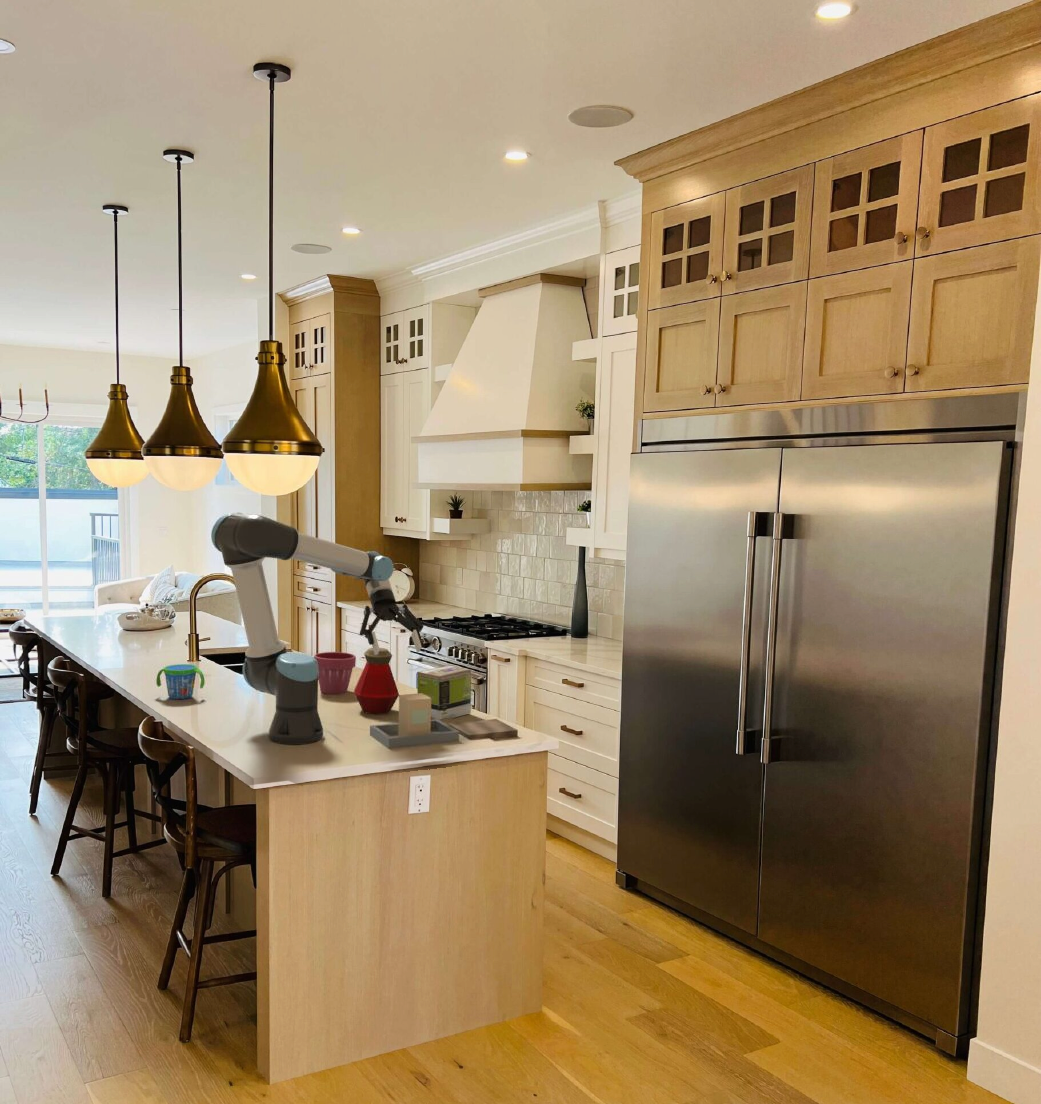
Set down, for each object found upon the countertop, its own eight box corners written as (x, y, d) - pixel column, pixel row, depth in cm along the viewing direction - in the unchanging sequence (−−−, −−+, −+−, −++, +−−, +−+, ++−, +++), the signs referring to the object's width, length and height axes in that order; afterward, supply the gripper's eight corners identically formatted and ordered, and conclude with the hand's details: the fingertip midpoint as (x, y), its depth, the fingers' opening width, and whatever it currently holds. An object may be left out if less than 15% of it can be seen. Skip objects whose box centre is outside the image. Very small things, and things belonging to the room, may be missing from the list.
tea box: (448, 708, 316) (449, 664, 315) (471, 714, 310) (472, 669, 309) (415, 716, 305) (416, 670, 303) (438, 722, 298) (439, 675, 297)
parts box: (407, 742, 272) (408, 700, 271) (398, 735, 278) (399, 694, 277) (430, 739, 275) (431, 698, 274) (420, 733, 281) (421, 693, 280)
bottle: (343, 709, 310) (345, 647, 309) (377, 703, 320) (378, 643, 319) (374, 718, 300) (376, 655, 298) (408, 712, 310) (409, 650, 308)
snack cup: (149, 699, 315) (150, 668, 314) (167, 692, 325) (167, 662, 325) (193, 702, 312) (194, 671, 311) (210, 695, 322) (210, 665, 322)
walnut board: (468, 741, 277) (468, 735, 277) (448, 730, 289) (448, 723, 289) (517, 736, 285) (517, 729, 285) (496, 725, 297) (496, 718, 297)
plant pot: (360, 688, 341) (361, 653, 340) (346, 697, 327) (347, 660, 326) (322, 685, 343) (322, 650, 342) (306, 694, 329) (307, 657, 329)
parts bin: (388, 751, 265) (388, 738, 265) (369, 737, 278) (370, 725, 278) (458, 743, 275) (459, 731, 275) (437, 730, 288) (437, 719, 288)
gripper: (414, 600, 311) (432, 655, 300) (339, 603, 299) (356, 660, 287) (421, 586, 306) (440, 641, 295) (346, 589, 294) (362, 646, 282)
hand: (398, 651), depth 291 cm, fingers open, 13 cm apart
